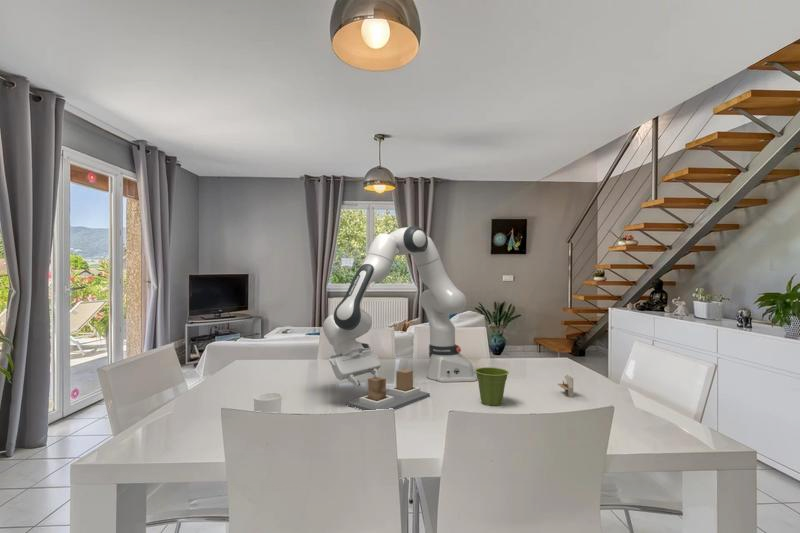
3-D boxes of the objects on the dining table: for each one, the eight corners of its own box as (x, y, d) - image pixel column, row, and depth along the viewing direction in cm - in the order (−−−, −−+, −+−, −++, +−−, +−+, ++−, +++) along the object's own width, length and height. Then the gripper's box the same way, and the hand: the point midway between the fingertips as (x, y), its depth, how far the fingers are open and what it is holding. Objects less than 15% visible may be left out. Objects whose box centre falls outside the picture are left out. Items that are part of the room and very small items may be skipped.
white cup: (273, 436, 119) (273, 400, 119) (248, 434, 120) (248, 399, 120) (286, 426, 126) (286, 392, 127) (262, 424, 128) (262, 391, 128)
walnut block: (376, 399, 149) (376, 376, 149) (386, 401, 146) (385, 378, 146) (368, 401, 146) (368, 378, 146) (377, 404, 143) (377, 381, 143)
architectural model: (564, 398, 153) (564, 378, 154) (557, 393, 160) (557, 373, 160) (573, 398, 153) (573, 378, 154) (566, 393, 160) (565, 373, 160)
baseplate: (397, 388, 166) (397, 365, 166) (429, 396, 156) (429, 371, 156) (346, 405, 146) (346, 378, 146) (379, 415, 135) (379, 387, 135)
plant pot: (502, 410, 140) (502, 376, 140) (469, 404, 146) (469, 372, 146) (513, 401, 150) (513, 369, 150) (482, 395, 156) (481, 365, 156)
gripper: (331, 351, 146) (350, 384, 139) (372, 343, 161) (391, 372, 155) (323, 362, 149) (341, 395, 142) (364, 353, 164) (382, 382, 158)
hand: (367, 383), depth 149 cm, fingers open, 8 cm apart
